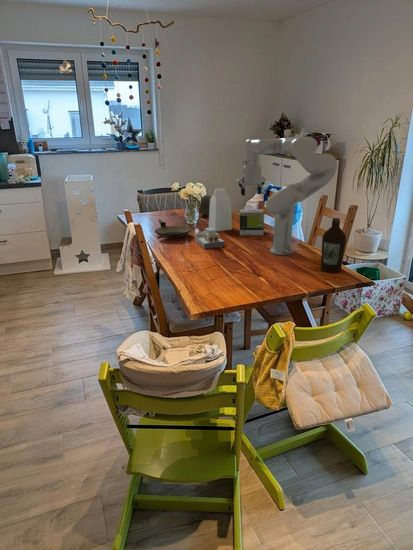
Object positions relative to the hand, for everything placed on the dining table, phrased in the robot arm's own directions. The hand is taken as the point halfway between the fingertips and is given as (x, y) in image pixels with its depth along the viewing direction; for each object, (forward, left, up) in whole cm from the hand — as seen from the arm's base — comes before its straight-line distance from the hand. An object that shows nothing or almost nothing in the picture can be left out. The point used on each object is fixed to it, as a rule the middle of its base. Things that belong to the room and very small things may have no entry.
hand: (251, 194), depth 219 cm
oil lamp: (+32, +38, -29) cm, 57 cm away
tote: (+6, +22, -21) cm, 31 cm away
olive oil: (-53, -18, -28) cm, 63 cm away
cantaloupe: (+76, +1, -28) cm, 81 cm away
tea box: (+19, -10, -29) cm, 36 cm away
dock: (+7, +22, -28) cm, 37 cm away
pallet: (+6, +22, -25) cm, 34 cm away
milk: (+38, +4, -29) cm, 48 cm away
